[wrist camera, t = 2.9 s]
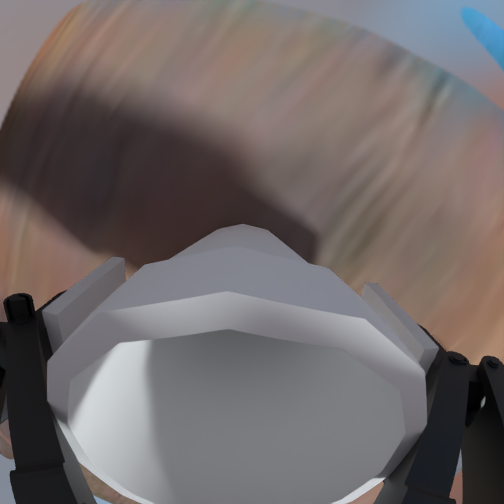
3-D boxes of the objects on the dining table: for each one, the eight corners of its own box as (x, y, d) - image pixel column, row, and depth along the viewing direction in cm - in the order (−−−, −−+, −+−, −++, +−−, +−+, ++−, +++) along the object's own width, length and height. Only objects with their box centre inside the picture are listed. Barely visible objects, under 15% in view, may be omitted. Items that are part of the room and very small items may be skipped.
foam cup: (189, 348, 19) (144, 519, 7) (148, 218, 17) (-14, 325, 4) (326, 323, 19) (398, 493, 6) (306, 184, 16) (457, 239, 4)
